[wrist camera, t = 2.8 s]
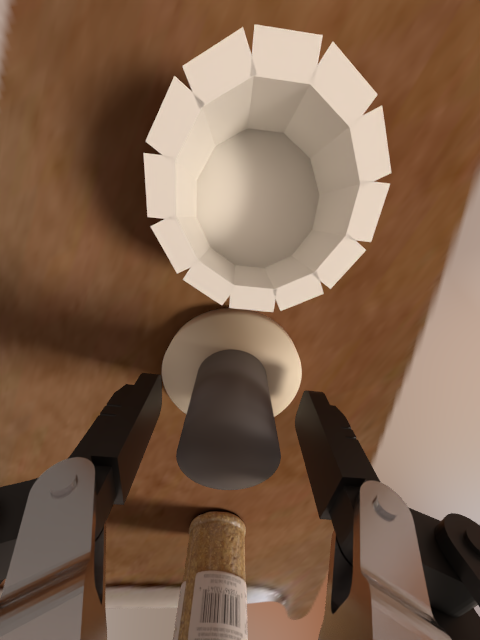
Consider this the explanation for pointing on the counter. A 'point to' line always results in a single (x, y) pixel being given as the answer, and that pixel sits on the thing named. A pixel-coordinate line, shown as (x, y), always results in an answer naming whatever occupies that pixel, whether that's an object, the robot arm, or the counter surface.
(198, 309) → the counter surface
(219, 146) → the bowl
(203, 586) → the sprinkles bottle
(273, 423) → the lid
